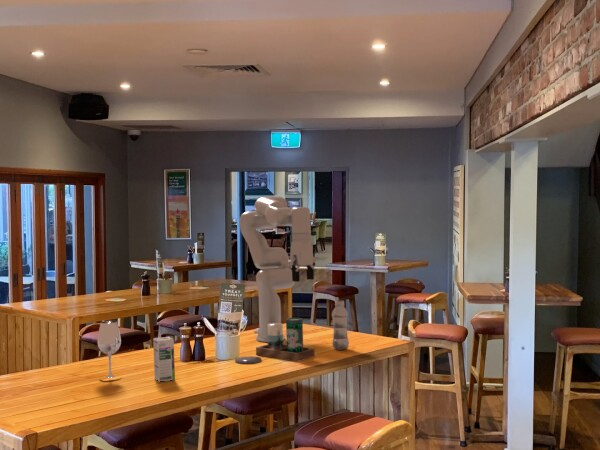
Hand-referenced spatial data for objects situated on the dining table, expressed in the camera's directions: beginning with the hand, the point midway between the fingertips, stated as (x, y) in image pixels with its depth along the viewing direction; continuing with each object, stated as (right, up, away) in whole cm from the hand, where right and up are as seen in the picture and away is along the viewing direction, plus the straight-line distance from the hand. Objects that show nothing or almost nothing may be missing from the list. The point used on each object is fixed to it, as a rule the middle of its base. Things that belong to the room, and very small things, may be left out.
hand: (303, 280), depth 272 cm
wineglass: (-68, -32, -35) cm, 83 cm away
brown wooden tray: (-7, -29, -4) cm, 31 cm away
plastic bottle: (+15, -29, +5) cm, 33 cm away
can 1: (-11, -29, -1) cm, 31 cm away
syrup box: (-48, -31, -38) cm, 69 cm away
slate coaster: (-21, -30, -12) cm, 39 cm away
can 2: (-3, -30, -7) cm, 31 cm away
